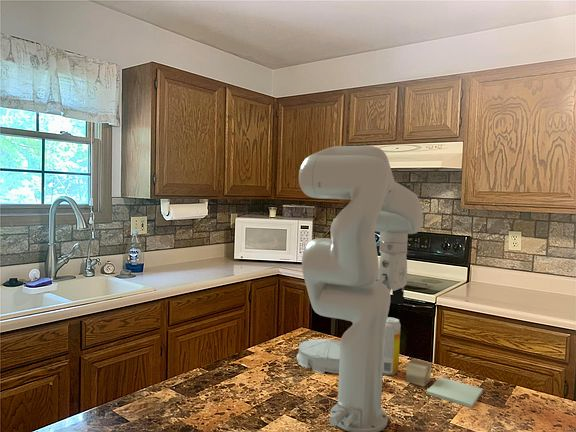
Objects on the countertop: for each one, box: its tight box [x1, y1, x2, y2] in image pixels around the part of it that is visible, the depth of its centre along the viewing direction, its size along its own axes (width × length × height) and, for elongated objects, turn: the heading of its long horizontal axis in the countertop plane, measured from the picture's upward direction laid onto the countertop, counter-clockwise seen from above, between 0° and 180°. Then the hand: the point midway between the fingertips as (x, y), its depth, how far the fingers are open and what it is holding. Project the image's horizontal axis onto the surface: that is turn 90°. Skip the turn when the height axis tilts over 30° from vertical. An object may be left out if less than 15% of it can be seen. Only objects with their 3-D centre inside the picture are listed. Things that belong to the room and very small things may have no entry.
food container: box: [296, 338, 341, 374], centre depth 132 cm, size 20×20×7 cm
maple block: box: [405, 357, 432, 387], centre depth 120 cm, size 5×5×5 cm
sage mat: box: [425, 376, 484, 409], centre depth 113 cm, size 11×11×1 cm
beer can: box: [382, 316, 401, 376], centre depth 125 cm, size 6×6×15 cm
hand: (390, 307), depth 124 cm, fingers open, 9 cm apart
